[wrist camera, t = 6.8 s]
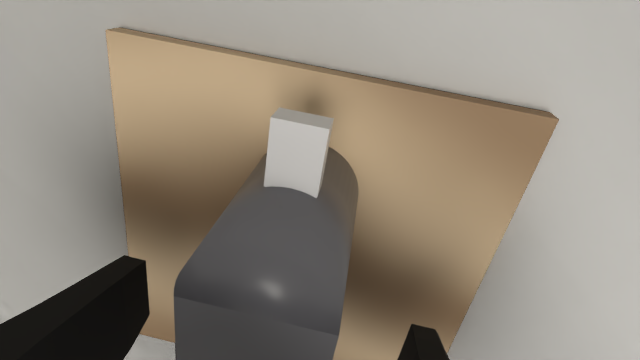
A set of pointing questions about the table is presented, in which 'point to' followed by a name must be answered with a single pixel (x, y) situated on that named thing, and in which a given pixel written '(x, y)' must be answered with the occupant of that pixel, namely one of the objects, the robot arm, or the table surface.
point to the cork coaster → (348, 140)
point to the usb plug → (274, 255)
